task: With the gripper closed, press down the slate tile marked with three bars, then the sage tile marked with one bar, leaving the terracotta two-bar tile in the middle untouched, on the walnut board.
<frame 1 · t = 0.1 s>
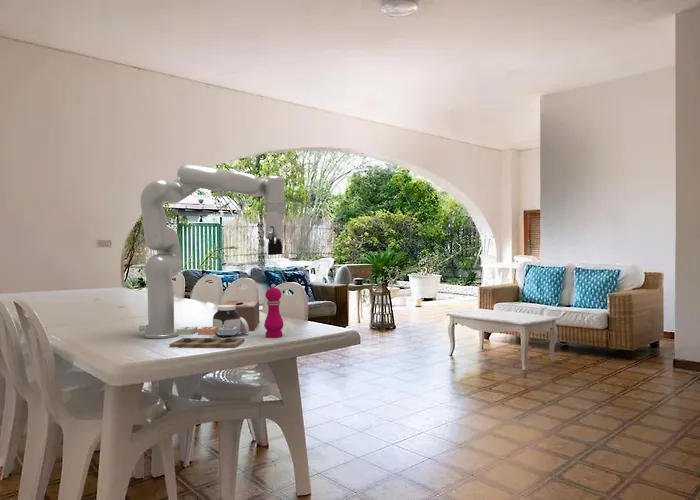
hand: (275, 254, 208), 31 cm above the table, tool pointing down, fingers open, 9 cm apart
board: (208, 344, 194), on the table
pepper mill: (274, 336, 209), on the table
spread jar: (231, 336, 212), on the table
tile 2: (207, 330, 194), point 5 cm above the table, slide at 0.0 cm
tile 3: (228, 330, 193), point 5 cm above the table, slide at 0.0 cm
tile 1: (187, 330, 194), point 5 cm above the table, slide at 0.0 cm
tissue box cover: (239, 327, 234), on the table
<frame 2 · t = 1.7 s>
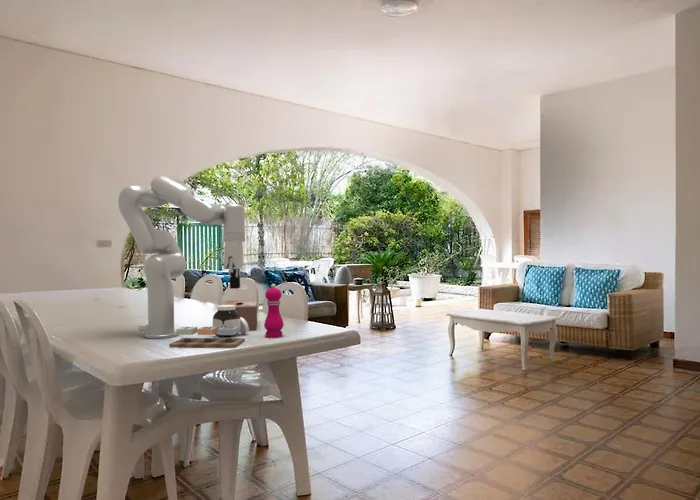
hand: (235, 288, 201), 19 cm above the table, tool pointing down, fingers closed
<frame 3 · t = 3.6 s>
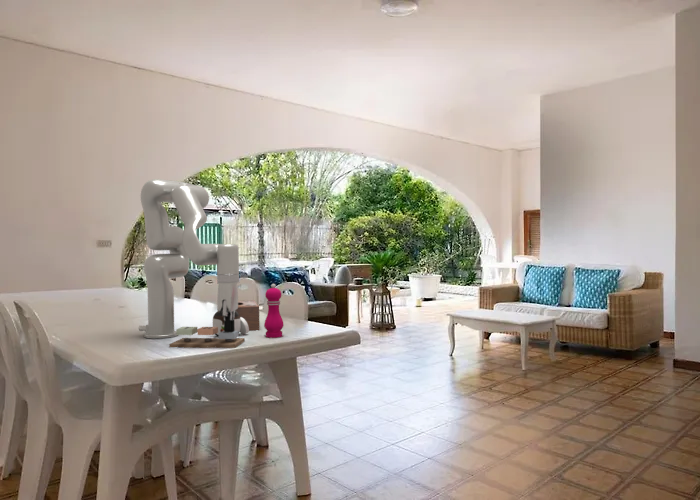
hand: (229, 331, 193), 5 cm above the table, tool pointing down, fingers closed
tile 3: (228, 334, 193), point 4 cm above the table, slide at 1.4 cm, touching gripper
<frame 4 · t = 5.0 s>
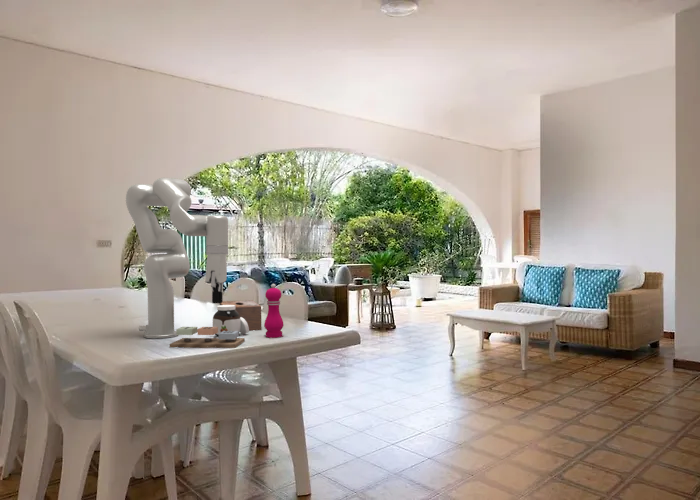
hand: (217, 302, 194), 15 cm above the table, tool pointing down, fingers closed
tile 3: (228, 334, 193), point 3 cm above the table, slide at 1.5 cm
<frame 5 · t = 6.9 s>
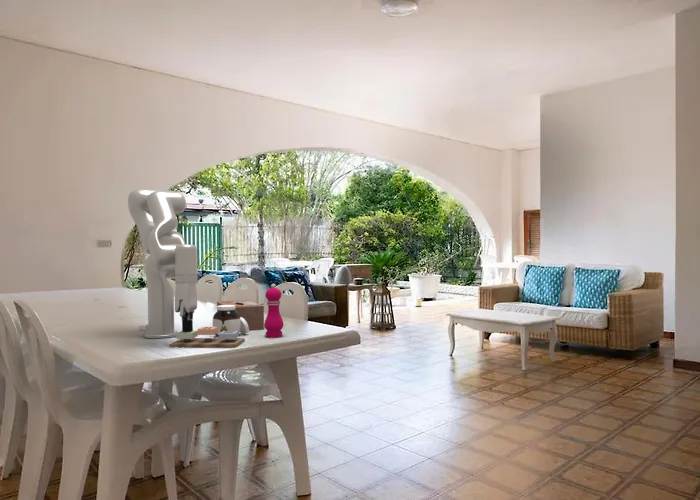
hand: (187, 331, 194), 5 cm above the table, tool pointing down, fingers closed
tile 1: (187, 334, 194), point 4 cm above the table, slide at 1.4 cm, touching gripper
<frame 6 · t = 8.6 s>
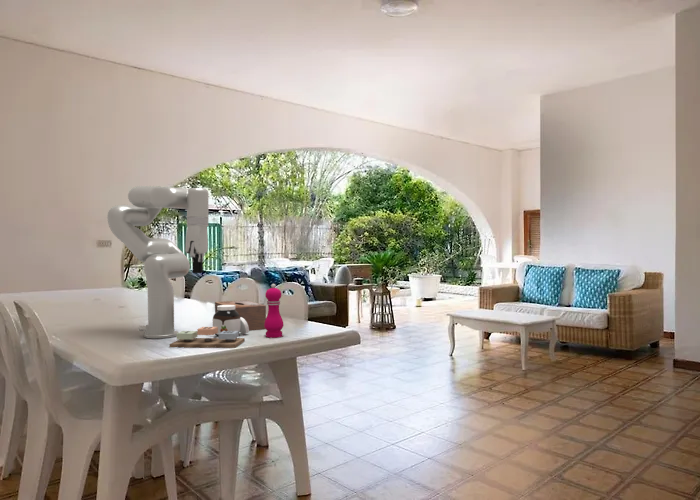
hand: (197, 272, 200), 25 cm above the table, tool pointing down, fingers closed
tile 1: (187, 334, 194), point 3 cm above the table, slide at 1.5 cm
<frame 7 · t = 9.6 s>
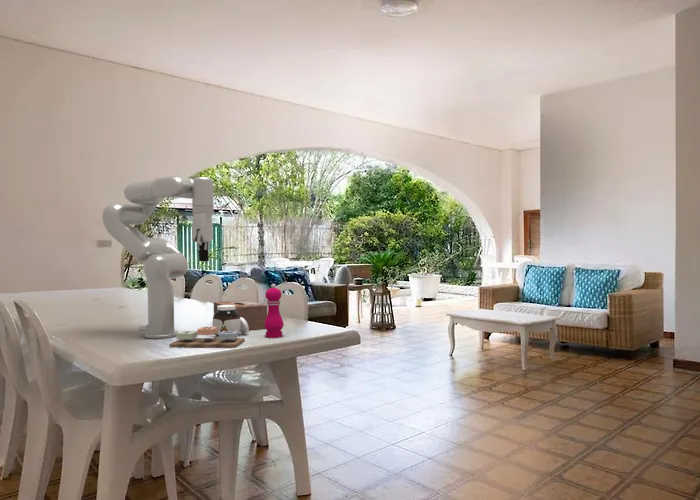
hand: (203, 261, 202), 29 cm above the table, tool pointing down, fingers closed
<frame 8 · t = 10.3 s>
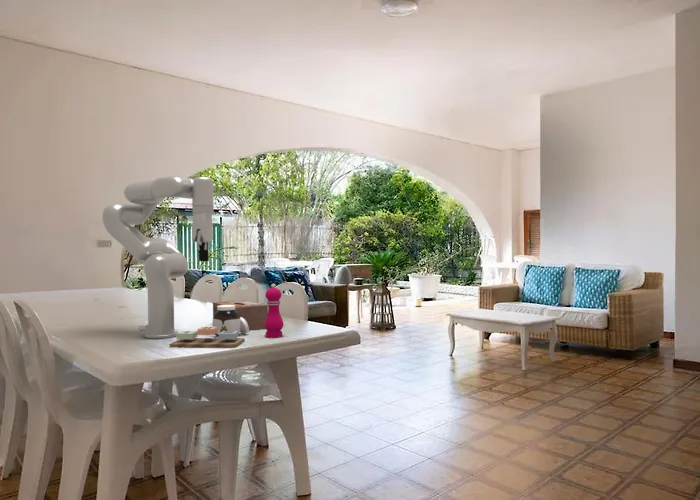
hand: (203, 261, 202), 29 cm above the table, tool pointing down, fingers closed
at the end: tile 3 slide at 1.5 cm; tile 1 slide at 1.5 cm; tile 2 slide at 0.0 cm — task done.
